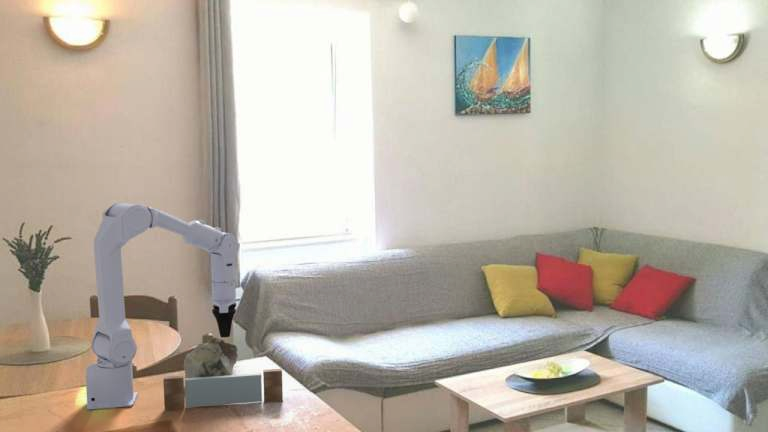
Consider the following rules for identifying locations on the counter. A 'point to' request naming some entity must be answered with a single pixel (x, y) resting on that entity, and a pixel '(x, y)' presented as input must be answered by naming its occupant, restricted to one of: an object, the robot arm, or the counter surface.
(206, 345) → the stone
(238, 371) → the counter surface
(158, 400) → the counter surface
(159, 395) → the counter surface
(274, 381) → the door frame
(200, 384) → the door
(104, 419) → the counter surface
